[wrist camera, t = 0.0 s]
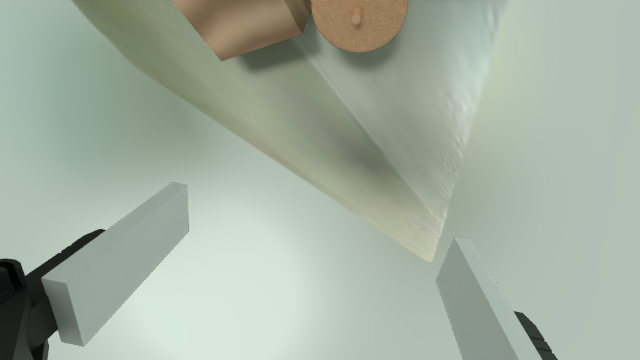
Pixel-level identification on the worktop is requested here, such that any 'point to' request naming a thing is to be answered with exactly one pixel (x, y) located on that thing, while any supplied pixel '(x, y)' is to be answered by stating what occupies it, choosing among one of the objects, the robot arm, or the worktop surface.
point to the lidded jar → (359, 22)
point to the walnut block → (244, 23)
